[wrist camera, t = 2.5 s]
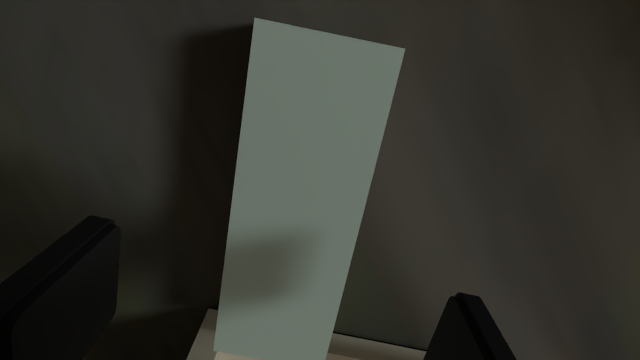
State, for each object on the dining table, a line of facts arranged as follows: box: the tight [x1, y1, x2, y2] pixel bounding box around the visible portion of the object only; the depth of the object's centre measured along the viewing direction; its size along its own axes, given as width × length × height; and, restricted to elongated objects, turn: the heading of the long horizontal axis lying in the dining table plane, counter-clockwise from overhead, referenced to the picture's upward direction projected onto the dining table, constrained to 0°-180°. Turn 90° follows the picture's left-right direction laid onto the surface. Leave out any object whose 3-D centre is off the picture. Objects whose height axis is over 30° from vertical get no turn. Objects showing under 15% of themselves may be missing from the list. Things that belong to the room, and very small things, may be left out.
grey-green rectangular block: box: [213, 18, 405, 360], centre depth 17 cm, size 14×5×4 cm, turn 169°
